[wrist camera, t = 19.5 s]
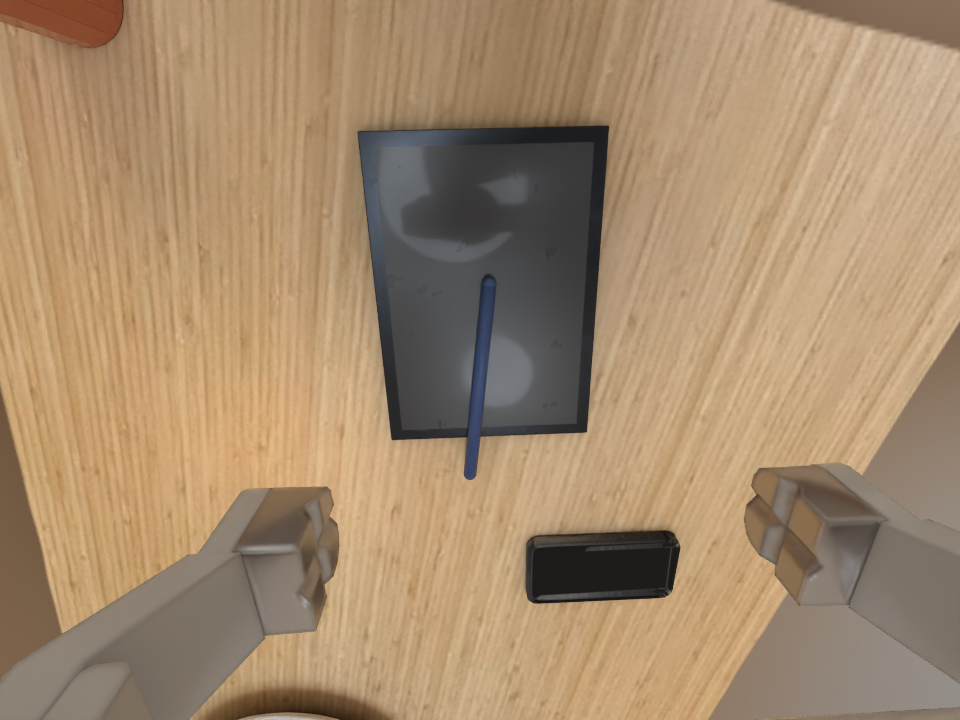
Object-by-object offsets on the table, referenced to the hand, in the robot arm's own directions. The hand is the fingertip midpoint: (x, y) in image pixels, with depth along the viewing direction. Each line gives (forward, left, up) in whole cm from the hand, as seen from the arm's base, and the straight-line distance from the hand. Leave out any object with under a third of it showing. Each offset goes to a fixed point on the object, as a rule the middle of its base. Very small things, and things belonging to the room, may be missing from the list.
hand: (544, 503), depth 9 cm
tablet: (+3, 0, -28) cm, 29 cm away
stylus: (+10, -1, -27) cm, 29 cm away
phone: (+31, +11, -28) cm, 44 cm away
